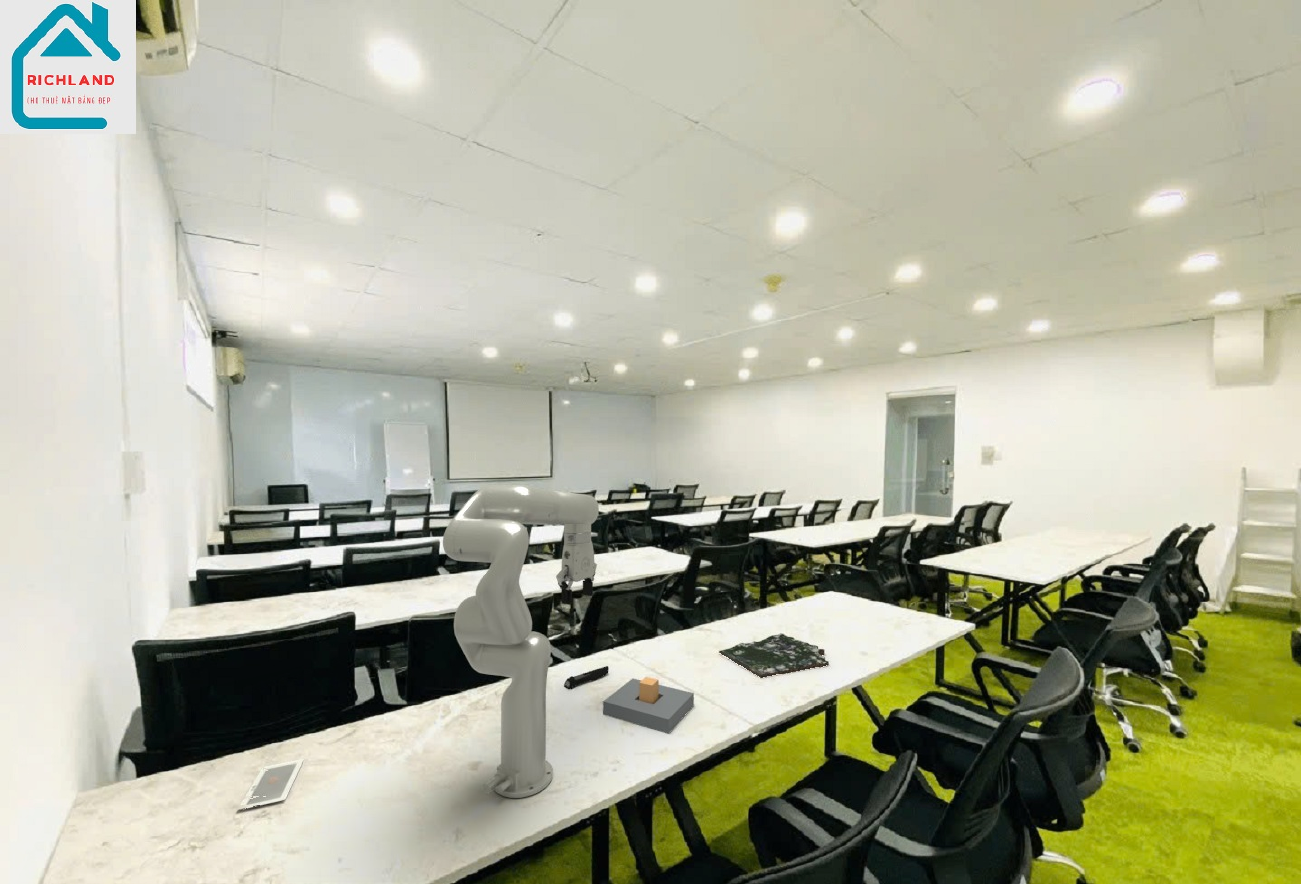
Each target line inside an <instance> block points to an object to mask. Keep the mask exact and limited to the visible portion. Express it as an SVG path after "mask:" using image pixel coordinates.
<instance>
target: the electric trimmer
mask: <svg viewBox="0 0 1301 884" xmlns="http://www.w3.org/2000/svg"><path fill="white" fill-rule="evenodd" d="M609 669H610V668H609V666H608V665H606V666H602V667H599V668H595V669H592V670H590V671H587V672H583V673H581V674H578V675H574V676H573V675H572V676H569V678H566V680H565V681H564V684H563V687H564V688H565V689H566V690H573V688H575V687H577V686H580V685H582V684H586V683H588V682H595V681H596V680H598V679H600V678H602V677H605V676H606V675H608V674H609Z"/></svg>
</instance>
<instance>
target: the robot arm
mask: <svg viewBox="0 0 1301 884" xmlns="http://www.w3.org/2000/svg"><path fill="white" fill-rule="evenodd" d="M599 511H600V508H599V503H598V500H597V499H596V498H595V497H594V496H592V495H588V494H584V493H574V492H567V491H561V490H554V489H547V488H541V487H538V486H537V487H536V486H531V485H526V484H492V483H491V484H486V485H483V486H482V487H480V488H479V489H478V490H477V491H475V492H474V493H473V494H472V495H471V496H470V497H469V499H468V500H467V501H466V503H464V505H463V506H462V507H461V508H460V509H459V511H458V512H457V513H456V514H455V516H454V517H453V518H452V519H451V520H450V522H449V523H448V525H447V526H446V529H445V531H444V533H443V536H442V547H443V551H444V553H445V554H446V556H448V557H449V558H450V559H451V560H454V561H459V562H472V563H473V562H474V563H475V562H477V563H490V566H489V568H488V570H487V571H486V573H484V574H483V576H482V577H481V579H480V580H479V582H478V583H477V586H476V588H475V595H471V596H469V597H467V598H465V599H464V600H462V601H461V602H460V604H459V605H457V609H456V611H455V613H454V618H453V630H454V636H455V637H456V641H457V643H458V645H459V647H460V648H461V650H462V652H463V654H464V655H465V658H466V660H467V661H468V663H469V665H470V666H471V668H472V669H473V670H474V671H476V672H477V673H479V674H484V675H491V676H492V675H493V676H501V677H506V678H510V679H511V682H510V684H508V686H507V688H506V689H505V690H504V692H503V694H502V696H501V702H500V710H501V711H500V712H501V714H500V724H501V725H500V764H498V765H497V766H496V771H495V772H494V775H493V777H492V778H491V779H490V780H488V781H486V782H485V783H484V784H483V788H482V789H483V792H484V793H485V794H487V795H488V794H489V795H490V793H491V792H493V791H494V790H495V792H496V793H497V794H499V795H500V796H502V797H506V798H508V799H509V798H510V799H511V798H512V799H518V798H519V799H521V798H525V797H526V798H527V797H531V796H533V795H536V794H537V793H539V792H541V791H543V790H544V789H546V787H547V786H548V785H549V784H550V782H551V781H552V780H553V775H554V772H553V771H554V770H553V765H552V764H551V763H550V762H549V761H548V760H546V759H547V757H546V756H547V754H546V753H547V748H546V747H547V746H546V745H547V743H546V740H547V739H546V738H547V737H546V736H547V735H546V734H547V723H546V722H547V705H546V704H547V677H548V671H549V665H550V660H551V659H550V658H551V653H552V648H551V642H550V640H549V639H548V637H547V636H546V635H545V634H542V633H541V632H538V631H532V630H533V620H532V616H531V612H530V610H529V607H528V604H527V602H526V600H525V596H524V594H523V592H522V589H521V586H520V577H521V574H522V570H523V567H524V563H525V559H526V556H527V553H528V549H529V543H530V542H529V540H530V538H529V533H528V530H527V528H526V527H525V525H540V526H541V525H542V526H543V525H545V526H549V525H550V526H554V525H555V526H556V525H563V526H564V527H563V529H564V532H563V535H564V537H563V540H564V542H563V547H562V555H561V569H560V571H559V572H558V573H557V574H556V576H555V577H556V580H557V584H558V587H559V590H560V592H561V599H560V600H561V601H560V602H561V605H562V604H564V605H572V603H573V590H572V589H571V588H572V586H573V583H575V582H576V583H577V582H580V581H582V595H583V596H588V597H593V595H594V593H593V592H594V589H593V588H594V586H593V585H594V580H595V575H596V570H597V565H598V564H597V563H596V562H595V553H594V546H593V541H592V524H594V523H595V522H596V521H597V519H598V517H599ZM567 582H568V583H567Z"/></svg>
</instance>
